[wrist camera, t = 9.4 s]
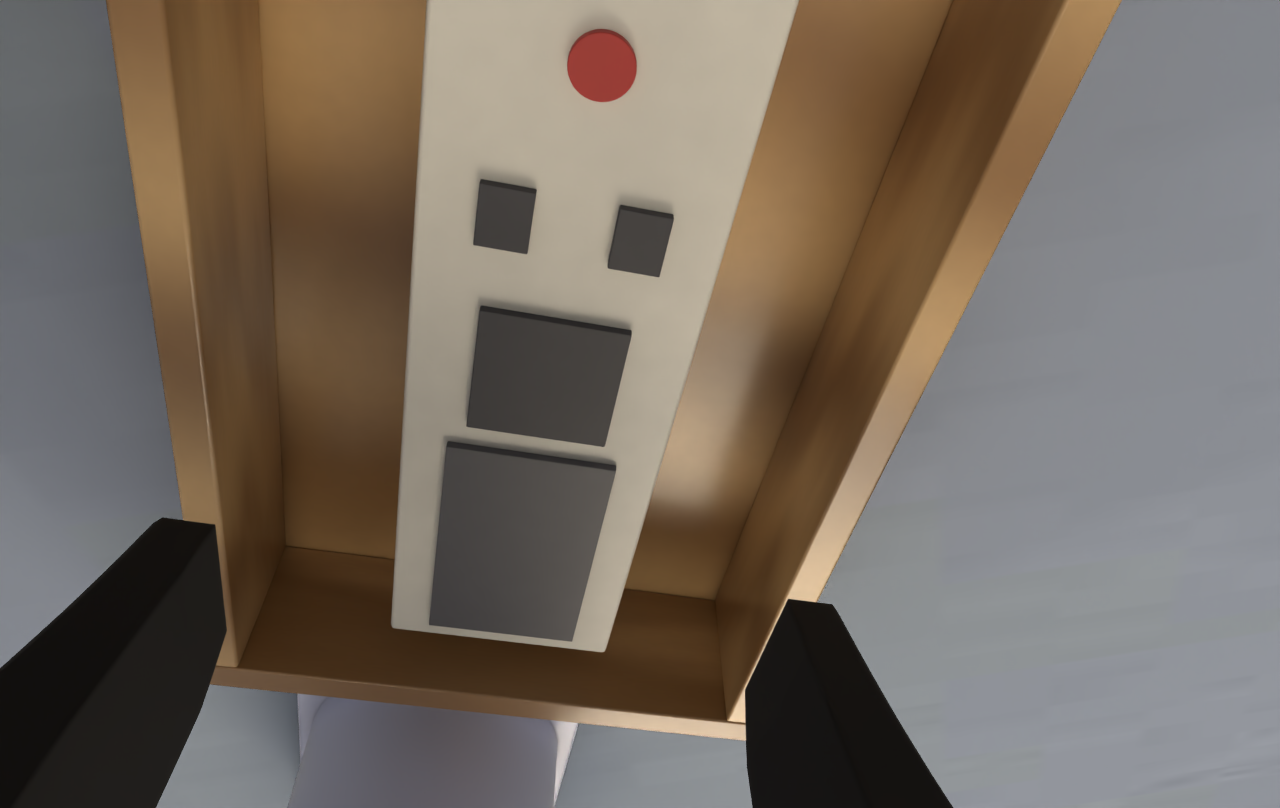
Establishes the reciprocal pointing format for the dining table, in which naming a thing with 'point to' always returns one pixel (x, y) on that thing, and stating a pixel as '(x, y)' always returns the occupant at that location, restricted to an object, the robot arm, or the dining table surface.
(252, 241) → the tidy box
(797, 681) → the robot arm
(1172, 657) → the dining table surface
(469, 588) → the remote
